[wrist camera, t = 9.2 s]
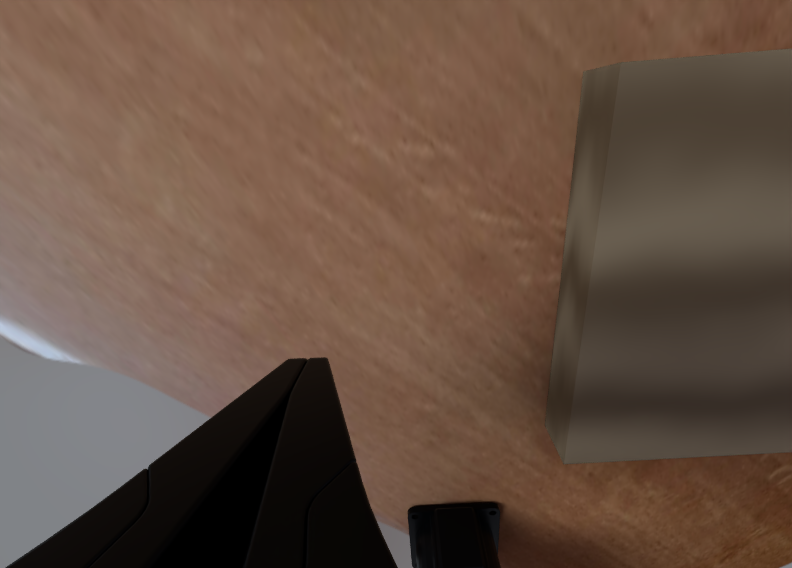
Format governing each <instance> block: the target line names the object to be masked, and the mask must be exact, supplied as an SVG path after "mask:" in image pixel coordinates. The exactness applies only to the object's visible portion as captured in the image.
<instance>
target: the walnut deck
mask: <svg viewBox="0 0 792 568" xmlns="http://www.w3.org/2000/svg"><path fill="white" fill-rule="evenodd" d="M545 427H546V429H547V431H548V433H549V435H550V437H551V439H552V441H553V443H554V445H555V447H556V449H557V451H558V453H559V455H560V458H561V460H562V462H563V464H577V463H596V462H614V461H633V460H652V459H671V458H690V457H708V456H727V455H746V454H765V453H784V452H792V49H782V50H770V51H757V52H745V53H732V54H720V55H708V56H695V57H683V58H670V59H658V60H645V61H633V62H621V63H617V64H613V65H609V66H604V67H600V68H596V69H592V70H588V71H584V72H583V81H582V90H581V100H580V109H579V118H578V127H577V136H576V145H575V154H574V163H573V173H572V182H571V191H570V200H569V209H568V218H567V227H566V237H565V246H564V255H563V264H562V273H561V282H560V291H559V301H558V310H557V319H556V328H555V337H554V346H553V355H552V365H551V374H550V383H549V392H548V401H547V410H546V419H545Z"/></svg>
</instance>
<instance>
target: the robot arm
mask: <svg viewBox="0 0 792 568" xmlns="http://www.w3.org/2000/svg"><path fill="white" fill-rule="evenodd" d="M499 521H500V511H499V507H498V505H497V504H495V503H481V504H461V505H441V506H422V507H411V508H410V509H409V510H408V523H409V535H410V546H411V558H412V566H413V568H501V567H500V563H499V559H498V539H499ZM6 568H398V567H397V565H396V563H395V561H394V559H393V557H392V554H391V552H390V550H389V548H388V546H387V544H386V542H385V539H384V537H383V535H382V533H381V530H380V528H379V526H378V523H377V521H376V518H375V516H374V514H373V511H372V509H371V507H370V504H369V501H368V498H367V495H366V491H365V488H364V485H363V482H362V479H361V475H360V472H359V468H358V465H357V463H356V458H355V454H354V451H353V447H352V444H351V440H350V436H349V433H348V429H347V426H346V422H345V418H344V415H343V411H342V408H341V404H340V400H339V397H338V393H337V390H336V386H335V382H334V379H333V375H332V371H331V368H330V364H329V361H328V359H327V358H325V357H324V358H310V359H308V360H307V359H306V358H297V359H288V360H286V361H285V362H284V363H282V364H281V365H280V366H278V367H277V368H276V369H274V370H273V371H272V372H271V373H269V374H268V375H267V376H265V377H264V378H263V379H261V380H260V381H259V382H257V383H256V384H255V385H254V386H252V387H251V388H250V389H248V390H247V391H246V392H244V393H243V394H242V395H240V396H239V397H238V398H237V399H235V400H234V401H233V402H231V403H230V404H229V405H227V406H226V407H225V408H223V409H222V410H221V411H220V412H218V413H217V414H216V415H214V416H213V417H212V418H210V419H209V420H208V421H206V422H205V423H204V424H203V425H202V426H200V427H199V428H197V429H196V430H195V431H193V432H192V433H191V434H190V435H188V436H187V437H186V438H184V439H183V440H182V441H180V442H179V443H178V444H176V445H175V446H174V447H172V448H171V449H170V450H169V451H167V452H166V453H165V454H163V455H162V456H161V457H159V458H158V459H157V460H155V461H154V462H153V463H151V464H150V465H149V467H148V469H143V470H142V471H141V472H140V473H138V474H137V475H136V476H134V477H133V478H132V479H130V480H129V481H128V482H126V483H125V484H124V485H123V486H121V487H120V488H118V489H117V490H116V491H114V492H113V493H112V494H110V495H109V496H108V497H106V498H105V499H104V500H102V501H101V502H99V503H98V504H97V505H96V506H94V507H93V508H91V509H90V510H89V511H87V512H86V513H84V514H83V515H81V516H80V517H79V518H77V519H76V520H74V521H73V522H71V523H70V524H69V525H67V526H66V527H64V528H63V529H61V530H60V531H59V532H57V533H56V534H54V535H53V536H51V537H50V538H48V539H47V540H46V541H44V542H43V543H41V544H40V545H38V546H37V547H35V548H34V549H32V550H31V551H29V552H28V553H26V554H25V555H24V556H22V557H20V558H19V559H18V560H16V561H15V562H13V563H12V564H10V565H9V566H7V567H6Z"/></svg>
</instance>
